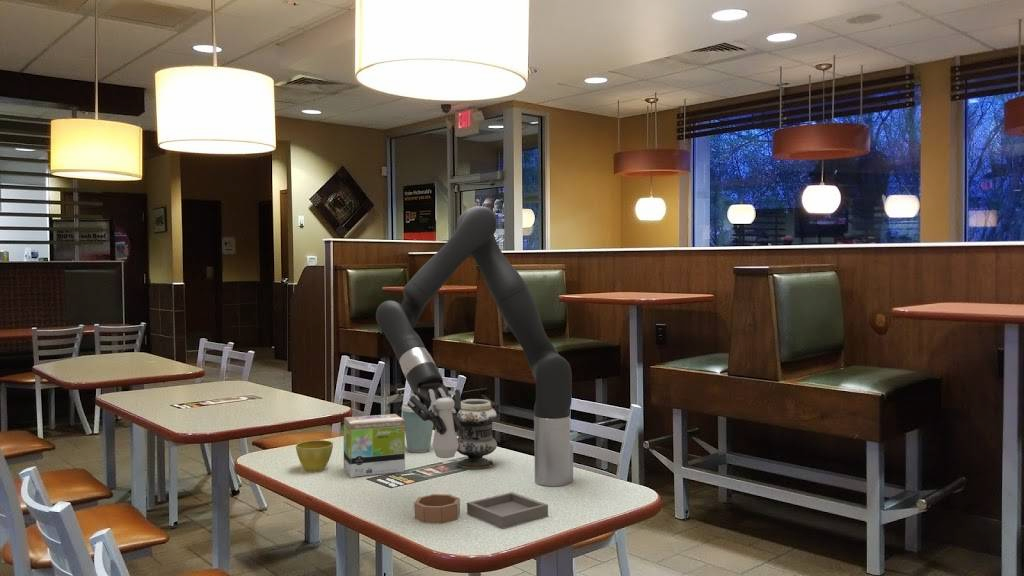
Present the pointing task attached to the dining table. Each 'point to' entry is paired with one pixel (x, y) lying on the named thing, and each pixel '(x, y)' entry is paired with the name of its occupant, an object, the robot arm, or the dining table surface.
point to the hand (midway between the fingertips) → (450, 431)
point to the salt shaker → (447, 442)
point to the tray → (507, 509)
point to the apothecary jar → (476, 433)
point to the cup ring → (437, 508)
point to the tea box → (374, 445)
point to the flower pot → (314, 454)
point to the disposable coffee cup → (416, 431)
